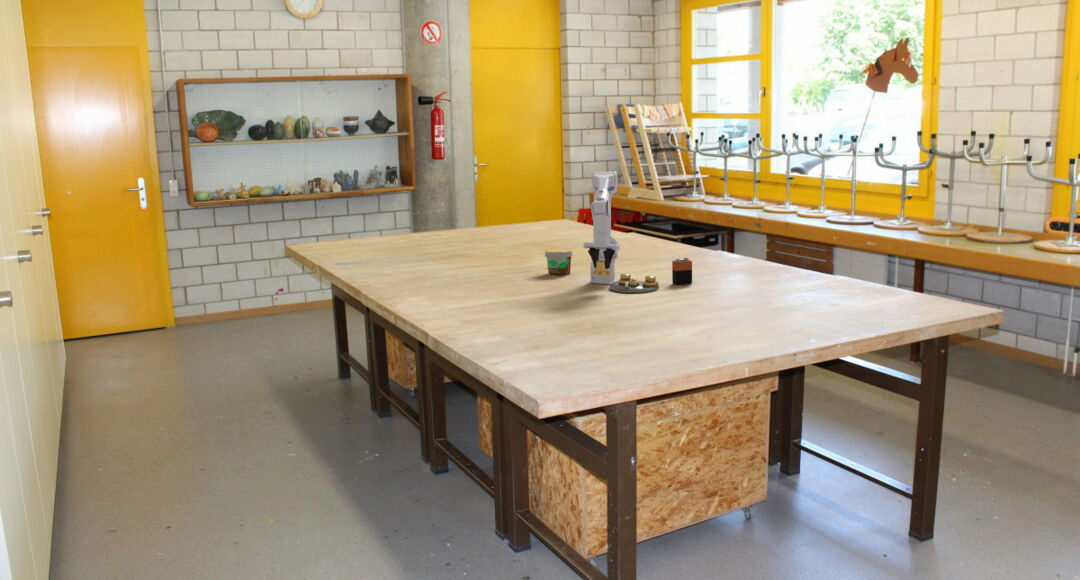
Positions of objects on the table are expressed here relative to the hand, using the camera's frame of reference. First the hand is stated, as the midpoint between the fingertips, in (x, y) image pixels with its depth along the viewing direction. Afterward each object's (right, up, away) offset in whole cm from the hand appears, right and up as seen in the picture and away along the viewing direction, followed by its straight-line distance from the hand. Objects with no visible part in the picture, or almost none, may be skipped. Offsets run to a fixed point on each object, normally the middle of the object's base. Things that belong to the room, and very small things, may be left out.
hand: (601, 268), depth 337 cm
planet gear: (0, -2, 0) cm, 2 cm away
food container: (-16, -2, +40) cm, 44 cm away
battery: (+32, -6, +12) cm, 35 cm away
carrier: (+13, -8, +7) cm, 17 cm away
